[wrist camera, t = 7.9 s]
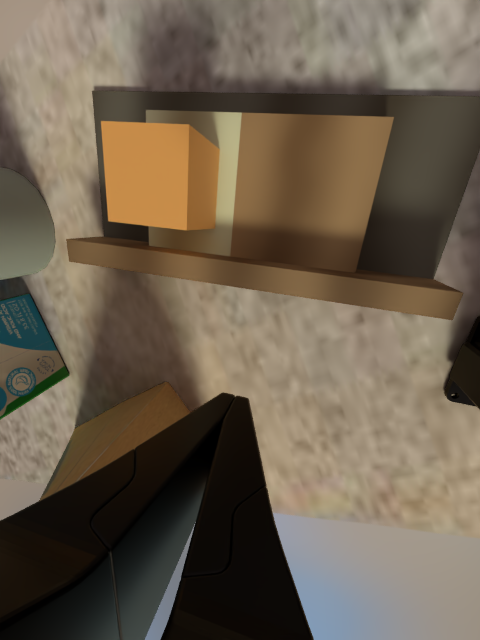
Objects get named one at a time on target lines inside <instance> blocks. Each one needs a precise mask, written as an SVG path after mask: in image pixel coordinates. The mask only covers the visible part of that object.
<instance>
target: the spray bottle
mask: <svg viewBox="0 0 480 640" xmlns="http://www.w3.org/2000/svg"><path fill="white" fill-rule="evenodd" d="M54 246H55V232H54V224H53V221H52V218H51V215H50V212H49V209H48V206H47V205H46V203H45V201H44V200H43V198H42V196H41V195H40V193H39V191H38V190H37V189H36V188H35V187H34V186H33V185H32V184H31V183H30V182H29V181H28V180H27V179H26V178H25V177H24V176H22V175H20V174H19V173H17V172H15V171H13V170H12V169H8V168H2V167H0V280H3V279H8V278H14V277H19V276H24V275H30V274H35V273H38V272H39V271H41V270H42V269H44V268H45V267H46V266H47V265H48V263H49V261H50V260H51V258H52V256H53V251H54Z"/></svg>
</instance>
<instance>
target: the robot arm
mask: <svg viewBox="0 0 480 640" xmlns="http://www.w3.org/2000/svg"><path fill="white" fill-rule="evenodd" d="M450 377H451V378H450V380H449V382H448V384H447V387H446V389H445V392H444V394H445V396H446V397H447V399H448V400H450V401H452V402H457V403H462V404H467V405H472V406H476V407H478V408H479V409H480V316H479V317H477V319H476V320H475V323H474V325H473V327H472V330H471V332H470V334H469V336H468V339H467V341H466V343H465V344H463V345H462V347H461V350H460V352H459V354H458V357H457V359H456V361H455V364H454V366H453V368H452V370H451V373H450ZM452 393H456V394H455V395H453V396H451V394H452ZM195 522H196V523H195ZM194 524H195V527H194ZM193 527H194V531H193V535H192V538H191V542H190V546H189V549H188V553H187V557H186V560H185V564H184V568H183V572H182V576H181V581H180V583H179V587H178V590H177V594H176V597H175V601H174V604H173V607H172V610H171V614H170V617H169V620H168V622H167V625H166V628H165V630H164V633H163V635H162V637H161V640H314V639H313V636H312V633H311V630H310V628H309V625H308V622H307V619H306V616H305V613H304V610H303V607H302V605H301V601H300V598H299V595H298V593H297V589H296V586H295V583H294V580H293V578H292V575H291V572H290V569H289V566H288V563H287V560H286V557H285V554H284V551H283V548H282V544H281V541H280V538H279V535H278V531H277V528H276V525H275V521H274V517H273V513H272V508H271V504H270V500H269V495H268V490H267V488H266V481H265V476H264V471H263V466H262V461H261V457H260V452H259V447H258V442H257V437H256V432H255V427H254V422H253V417H252V413H251V408H250V403H249V399H248V398H246V397H241V396H236V397H235V396H234V395H233V394H228V393H221V394H219V395H218V396H216V397H215V398H213V399H211V400H210V401H208V402H207V403H205V404H203V405H202V406H200V407H199V408H197V409H196V410H194V411H192V412H191V413H189V414H188V415H186V416H184V417H183V418H181V419H180V420H178V421H177V422H175V423H173V424H172V425H170V426H169V427H167V428H165V429H164V430H162V431H161V432H159V433H157V434H156V435H154V436H153V437H151V438H150V439H148V440H146V441H145V442H143V443H142V444H140V445H138V446H137V447H136V448H135V449H132V450H130V451H129V452H127V453H126V454H124V455H122V456H121V457H119V458H117V459H116V460H114V461H112V462H111V463H109V464H107V465H106V466H104V467H102V468H101V469H99V470H97V471H95V472H93V473H92V474H90V475H88V476H86V477H84V478H82V479H81V480H79V481H77V482H75V483H73V484H71V485H69V486H67V487H65V488H63V489H61V490H60V491H58V492H56V493H54V494H52V495H50V496H48V497H46V498H44V499H42V500H40V501H38V502H36V503H35V504H33V505H31V506H29V507H27V508H25V509H23V510H21V511H19V512H17V513H15V514H14V515H11V516H9V517H7V518H5V519H3V520H1V521H0V640H145V637H146V635H147V632H148V630H149V628H150V626H151V623H152V621H153V619H154V616H155V614H156V612H157V610H158V607H159V605H160V602H161V600H162V598H163V596H164V593H165V591H166V589H167V586H168V584H169V582H170V579H171V577H172V575H173V573H174V570H175V568H176V566H177V563H178V561H179V559H180V557H181V554H182V552H183V550H184V547H185V545H186V543H187V540H188V538H189V536H190V534H191V531H192V529H193Z"/></svg>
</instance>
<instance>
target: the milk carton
mask: <svg viewBox="0 0 480 640" xmlns="http://www.w3.org/2000/svg"><path fill="white" fill-rule="evenodd" d="M68 376H69V373H68V371H67V369H66V367H65V365H64V363H63V361H62V359H61V357H60V355H59V353H58V351H57V349H56V347H55V345H54V343H53V341H52V339H51V337H50V335H49V332H48V330H47V328H46V326H45V324H44V322H43V320H42V318H41V316H40V314H39V312H38V310H37V308H36V306H35V304H34V302H33V300H32V298H31V296H30V294H24V295H20V296H16V297H12V298H8V299H4V300H0V419H2V418H3V417H5V416H7V415H8V414H10V413H11V412H13V411H14V410H16V409H18V408H19V407H21V406H22V405H24V404H25V403H27V402H29V401H30V400H32V399H33V398H35V397H36V396H38V395H40V394H41V393H43V392H44V391H46V390H47V389H49V388H51V387H52V386H54V385H55V384H57V383H58V382H60V381H62V380H63V379H65V378H66V377H68Z"/></svg>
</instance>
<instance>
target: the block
mask: <svg viewBox="0 0 480 640" xmlns="http://www.w3.org/2000/svg"><path fill="white" fill-rule="evenodd" d="M101 129H102V143H103V156H104V170H105V183H106V197H107V210H108V221H111V222H119V223H128V224H136V225H144V226H153V227H161V228H170V229H178V230H202V229H215V222H216V205H217V188H218V171H219V155H220V149H219V148H217V147H216V146H215V145H214V144H213V143H211V142H210V141H209V140H208V139H206V138H205V137H204V136H203V135H202V134H200V133H199V132H198V131H197V130H195V129H194V128H193V127H192V126H190V125H189V124H165V123H140V122H115V121H101Z"/></svg>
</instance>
